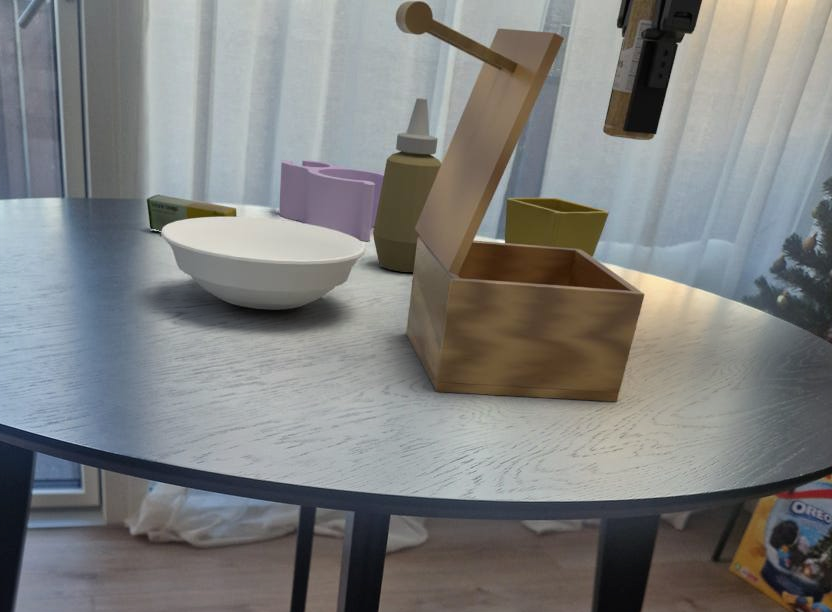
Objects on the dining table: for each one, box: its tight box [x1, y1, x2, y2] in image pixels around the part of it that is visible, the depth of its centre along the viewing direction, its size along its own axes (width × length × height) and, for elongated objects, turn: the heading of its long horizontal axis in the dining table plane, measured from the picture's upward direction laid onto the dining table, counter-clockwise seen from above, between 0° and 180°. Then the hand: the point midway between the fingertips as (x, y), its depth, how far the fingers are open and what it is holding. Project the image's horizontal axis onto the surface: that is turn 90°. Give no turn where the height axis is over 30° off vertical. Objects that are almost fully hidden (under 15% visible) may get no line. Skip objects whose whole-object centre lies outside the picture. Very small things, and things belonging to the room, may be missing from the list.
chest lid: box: [395, 0, 565, 275], centre depth 72 cm, size 16×17×10 cm
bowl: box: [160, 216, 367, 311], centre depth 91 cm, size 20×20×6 cm
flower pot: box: [504, 197, 610, 258], centre depth 110 cm, size 9×9×9 cm
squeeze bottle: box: [372, 97, 442, 273], centre depth 108 cm, size 8×8×18 cm
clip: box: [278, 159, 384, 242], centre depth 131 cm, size 20×12×7 cm, turn 43°
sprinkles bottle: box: [602, 0, 656, 141], centre depth 78 cm, size 5×5×13 cm
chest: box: [405, 236, 645, 403], centre depth 81 cm, size 16×17×9 cm
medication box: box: [146, 194, 238, 231], centre depth 115 cm, size 12×3×4 cm, turn 63°
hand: (629, 128), depth 81 cm, fingers closed on sprinkles bottle, 4 cm apart
